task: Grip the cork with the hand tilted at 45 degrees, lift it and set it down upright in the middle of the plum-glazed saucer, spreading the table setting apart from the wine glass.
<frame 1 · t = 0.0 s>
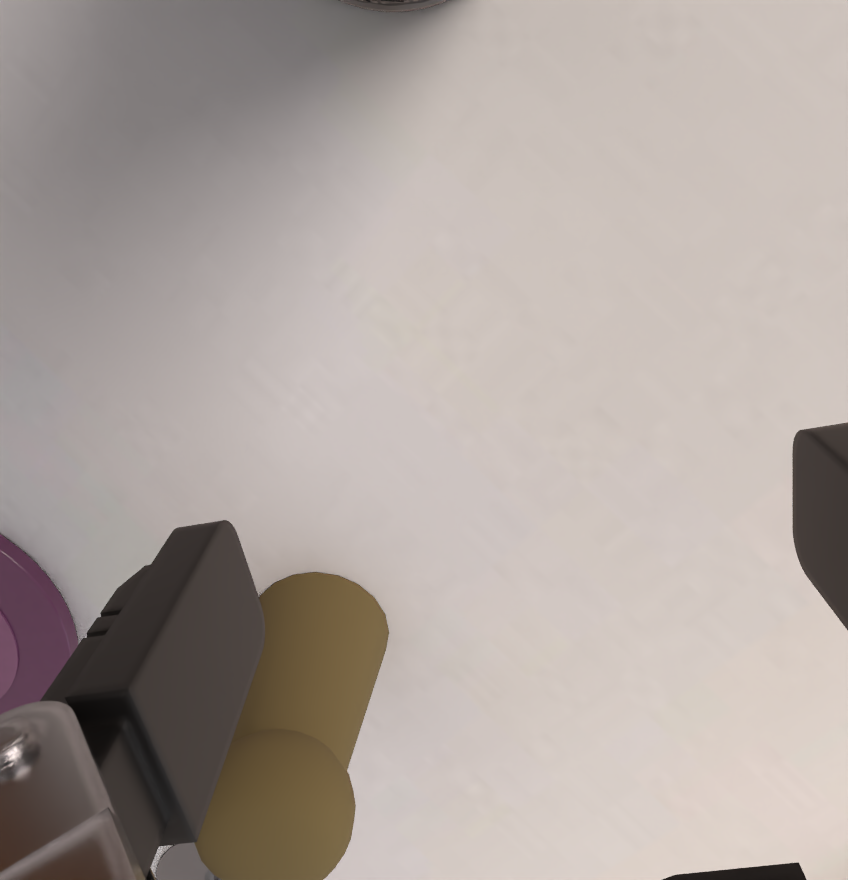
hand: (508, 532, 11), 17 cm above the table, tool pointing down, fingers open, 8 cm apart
wine glass: (225, 879, 40), on the table
cork: (320, 627, 33), on the table
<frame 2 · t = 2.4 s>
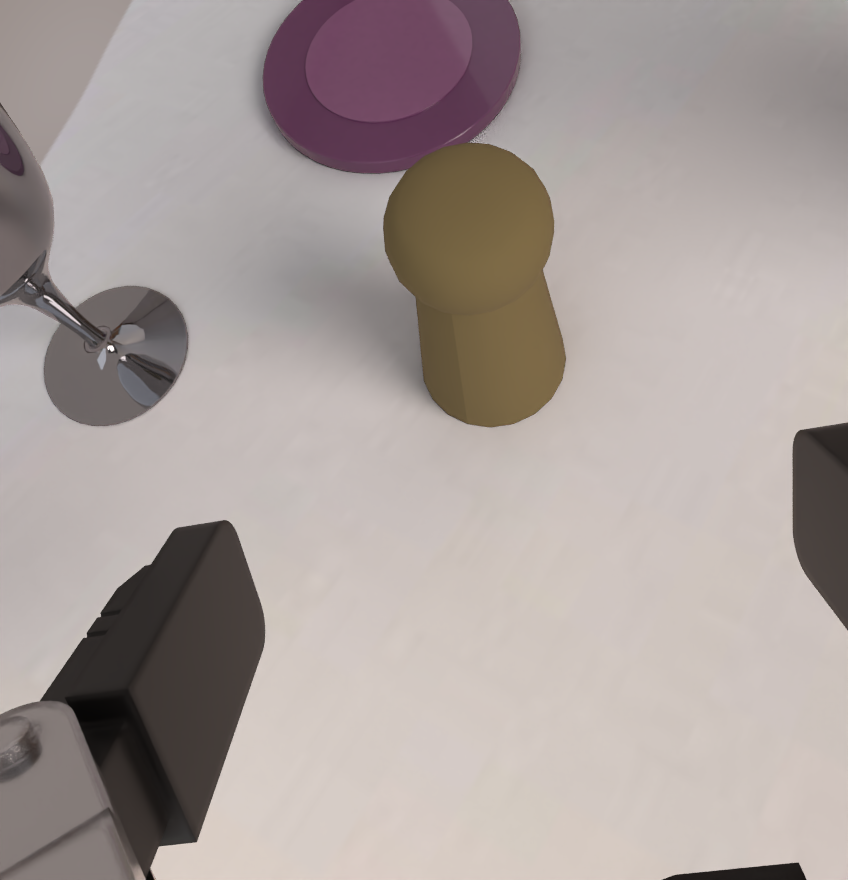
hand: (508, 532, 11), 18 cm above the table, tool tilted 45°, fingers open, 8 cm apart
wine glass: (117, 355, 35), on the table
saucer: (391, 66, 38), on the table
cork: (493, 361, 32), on the table
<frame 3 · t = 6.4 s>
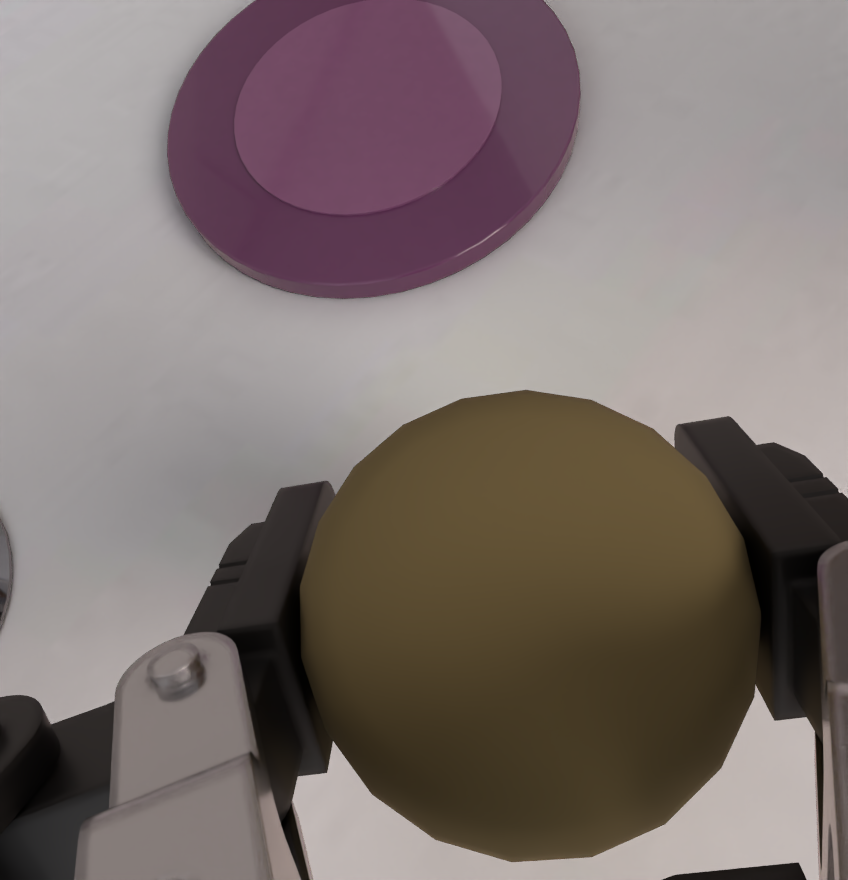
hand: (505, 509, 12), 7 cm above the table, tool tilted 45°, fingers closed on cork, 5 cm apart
saucer: (371, 121, 24), on the table
cork: (536, 668, 18), on the table, touching gripper
when the fingers open (8 cm above the table, at t = 16.6 s): cork stays where it is, resting on saucer.
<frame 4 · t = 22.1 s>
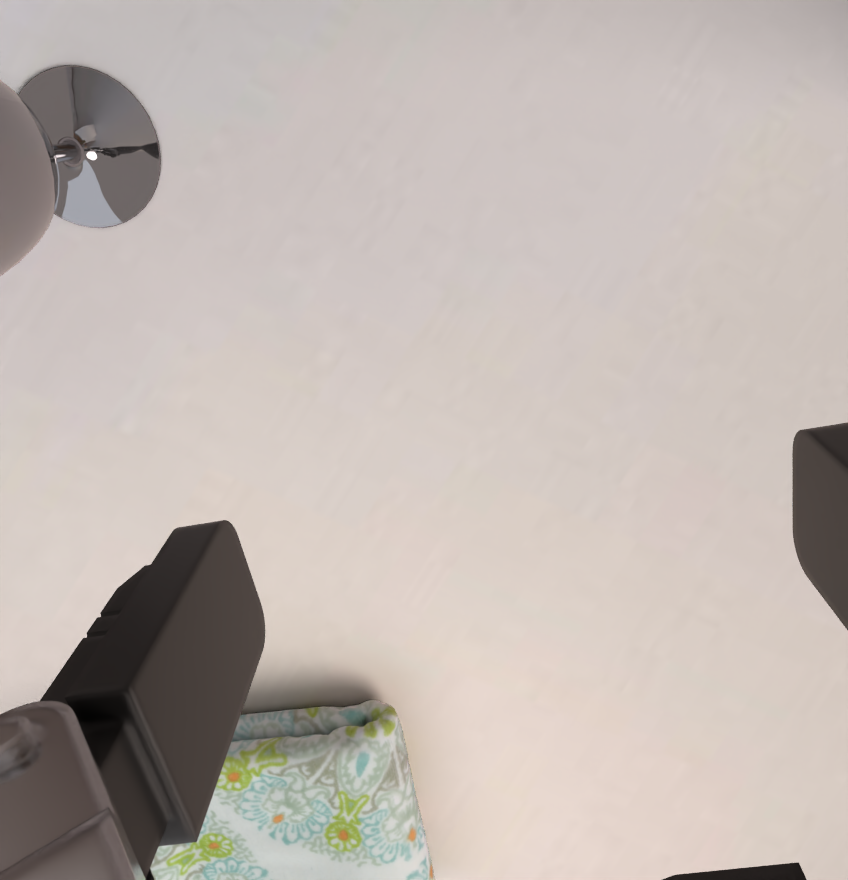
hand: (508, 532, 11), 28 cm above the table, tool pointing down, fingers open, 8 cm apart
towel: (273, 803, 53), on the table
wine glass: (86, 149, 36), on the table
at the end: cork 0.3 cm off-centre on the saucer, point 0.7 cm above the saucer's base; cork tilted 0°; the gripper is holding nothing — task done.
